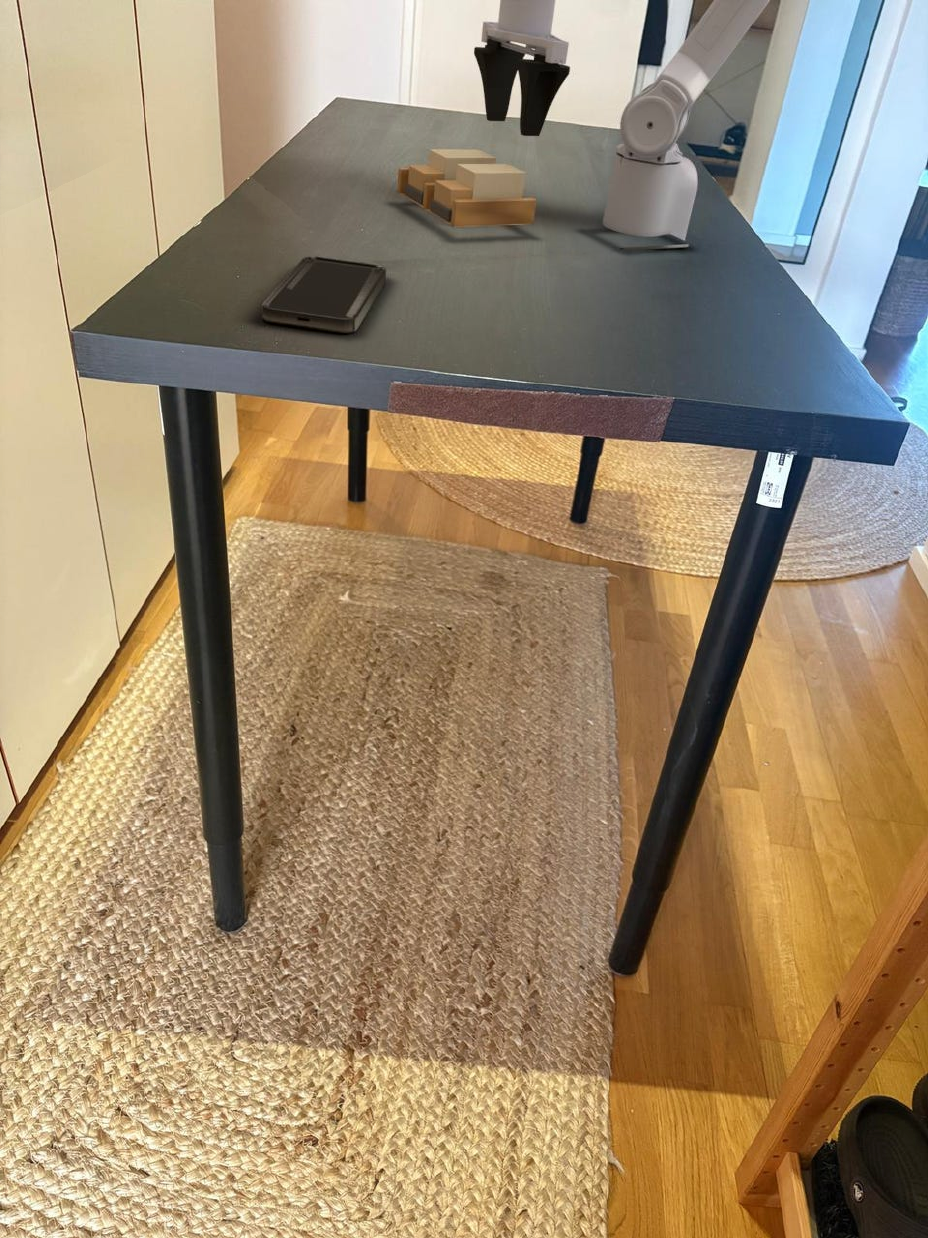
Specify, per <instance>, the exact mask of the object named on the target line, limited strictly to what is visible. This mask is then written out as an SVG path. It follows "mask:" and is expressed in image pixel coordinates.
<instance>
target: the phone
mask: <svg viewBox="0 0 928 1238" xmlns="http://www.w3.org/2000/svg"><path fill="white" fill-rule="evenodd" d="M386 277H387V268H386V267H384V266H381V265H378V264H371V263H365V262H364V263H363V262H357V261H349V260H343V259H337V258H336V259H335V258H330V257H322V256H305V257H303V258H302V259H301V260H300V261H299V262H298V263H297V264H296V265H295V266H294V268H292V270H291V271H290V272H289V273H288V274H287V276H286V277H284V278H283V279H282V281H281V282H280V283H279V284H277V286H276V287H275V288H274V289H273V291H272V292H271V293H270V294H269V295H268V296H267V297H266V299H264V301H263V302H262V303H261V312H262V313H261V314H262V315H261V316H262V319H263V320H264V321H265V322H267V323H270V324H277V325H284V326H292V327H298V328H306V329H312V330H320V331H325V332H326V331H327V332H333V333H340V334H349V333H354V332H356V331H357V330H358V329H359V327H360V326H361V324H362V322H363V321H364V319H365V317H366V316H367V314H368V312H369V310H370V309H371V307H372V305H373V304H374V302H375V300H376V299H377V297H378V295H379V294H380V292H381V290H383V287H384V285H386Z"/></svg>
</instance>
